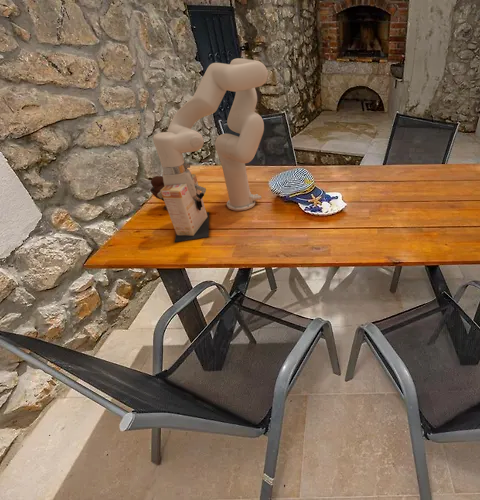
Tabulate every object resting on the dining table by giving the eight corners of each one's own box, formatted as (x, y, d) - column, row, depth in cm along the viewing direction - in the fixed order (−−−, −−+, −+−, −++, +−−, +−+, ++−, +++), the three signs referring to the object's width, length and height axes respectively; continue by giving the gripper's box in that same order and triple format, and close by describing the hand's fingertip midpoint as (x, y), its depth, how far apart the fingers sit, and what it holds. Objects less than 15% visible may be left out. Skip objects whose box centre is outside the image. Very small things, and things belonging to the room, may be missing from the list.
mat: (209, 212, 139) (208, 212, 139) (208, 237, 124) (208, 236, 124) (179, 216, 136) (178, 216, 136) (174, 242, 121) (174, 241, 120)
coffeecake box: (192, 216, 136) (178, 173, 124) (208, 216, 136) (196, 173, 124) (175, 235, 124) (159, 189, 112) (193, 236, 124) (179, 190, 112)
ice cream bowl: (174, 214, 137) (163, 182, 128) (152, 211, 139) (139, 179, 130) (189, 203, 146) (180, 172, 137) (167, 200, 147) (157, 169, 138)
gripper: (200, 162, 120) (211, 203, 131) (149, 167, 116) (164, 208, 126) (200, 169, 115) (211, 211, 125) (146, 175, 110) (162, 218, 120)
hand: (187, 210), depth 125 cm, fingers closed on coffeecake box, 8 cm apart
